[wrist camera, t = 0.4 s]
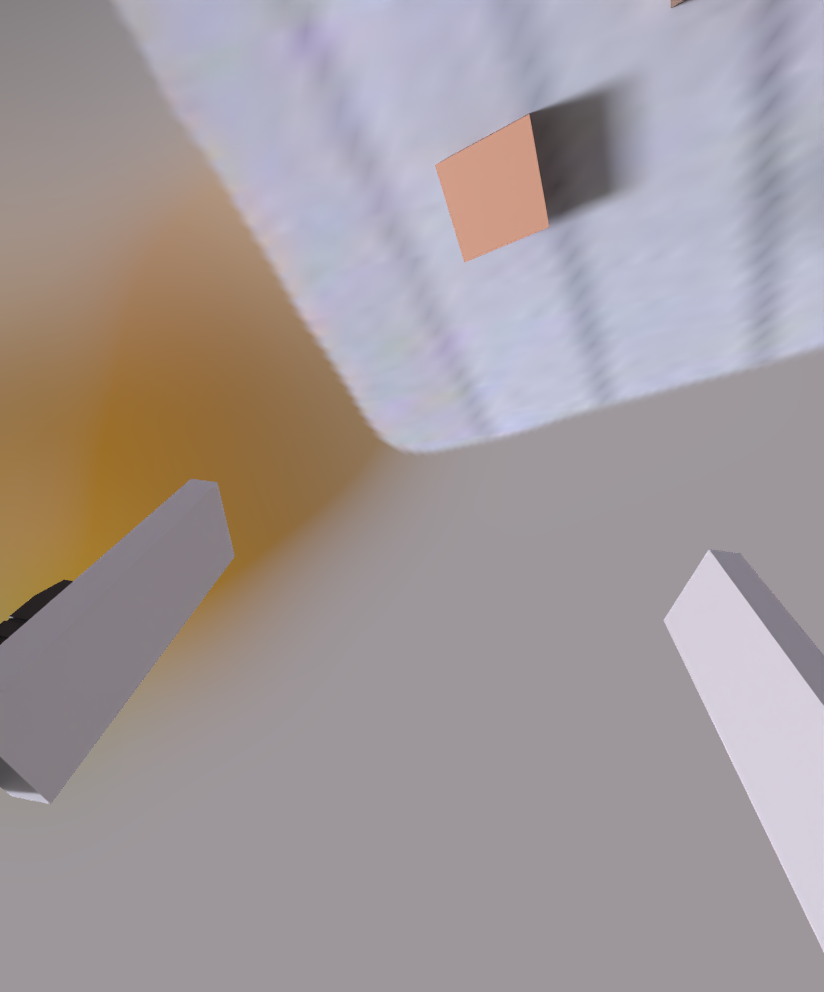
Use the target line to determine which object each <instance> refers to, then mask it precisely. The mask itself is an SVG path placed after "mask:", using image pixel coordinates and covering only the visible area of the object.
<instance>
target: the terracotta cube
mask: <svg viewBox="0 0 824 992" xmlns="http://www.w3.org/2000/svg"><path fill="white" fill-rule="evenodd" d="M435 166H436V170H437V173H438V176H439V179H440V183H441V186H442V189H443V193H444V196H445V199H446V203H447V206H448V209H449V213H450V216H451V219H452V223H453V226H454V229H455V233H456V236H457V239H458V243H459V246H460V249H461V252H462V256H463V259H464V262H467V261H469V260H471V259H474V258H476V257H479V256H481V255H483V254H486V253H488V252H491V251H493V250H495V249H498V248H500V247H503V246H505V245H507V244H510V243H512V242H515V241H517V240H519V239H522V238H524V237H527V236H529V235H531V234H534V233H536V232H538V231H541V230H543V229H546V228H548V227H549V222H548V215H547V209H546V203H545V198H544V192H543V186H542V181H541V175H540V169H539V164H538V158H537V152H536V147H535V141H534V135H533V130H532V124H531V118H530V113H529V114H527V115H525V116H524V117H522V118H520V119H518V120H516V121H514V122H513V123H511V124H509V125H507V126H505V127H503V128H502V129H500V130H498V131H496V132H494V133H492V134H490V135H489V136H487V137H485V138H483V139H481V140H479V141H478V142H476V143H474V144H472V145H470V146H468V147H466V148H465V149H463V150H461V151H459V152H457V153H455V154H454V155H452V156H450V157H448V158H446V159H445V160H443V161H441V162H440V163H438V164H436V165H435Z"/></svg>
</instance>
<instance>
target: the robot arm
mask: <svg viewBox="0 0 824 992" xmlns="http://www.w3.org/2000/svg"><path fill="white" fill-rule="evenodd" d="M233 558H234V552H233V548H232V544H231V539H230V535H229V530H228V526H227V522H226V518H225V513H224V509H223V505H222V501H221V497H220V492H219V488H218V484H217V482H210V481H202V480H195V479H191V480H189V481H188V482H187V483H186V484H185V485H184V486H182V487H181V488H180V489H179V490H178V491H177V492H176V493H174V494H173V495H172V496H171V497H170V498H169V499H167V500H166V501H165V502H164V503H163V504H162V505H161V506H159V507H158V508H157V509H156V510H155V511H154V512H152V513H151V514H150V515H149V516H148V517H147V518H146V519H144V520H143V521H142V522H141V523H140V524H139V525H138V526H136V527H135V528H134V529H133V530H132V531H131V532H129V533H128V534H127V535H126V536H125V537H124V538H123V539H121V541H119V542H118V543H117V544H116V545H115V546H113V547H112V548H111V549H110V550H109V551H108V552H107V553H105V554H104V555H103V556H102V557H101V558H100V559H99V560H97V561H96V562H95V563H94V564H93V565H92V566H90V567H89V568H88V569H87V570H86V571H85V572H83V573H82V574H81V575H80V576H79V577H78V578H77V579H75V580H74V581H68V580H63V581H61V582H59V583H57V584H55V585H53V586H52V587H50V588H48V589H47V590H44V591H42V592H41V593H39V594H37V595H35V596H34V597H32V598H31V599H30V600H29V601H28V602H26V603H25V604H24V605H23V606H21V607H20V608H19V609H18V610H17V611H15V612H14V613H13V614H12V615H10V616H9V617H10V618H9V620H8V621H3V622H2V623H1V624H0V787H1V788H2V789H4V790H5V791H6V792H7V793H8V794H10V795H11V796H13V797H18V798H23V799H28V800H33V801H38V802H43V803H48V804H51V803H52V802H53V800H54V799H55V798H56V796H57V795H58V794H59V792H60V791H61V789H62V788H63V787H64V785H65V784H66V783H67V781H68V780H69V779H70V777H71V776H72V775H73V773H74V772H75V771H76V769H77V768H78V766H79V765H80V764H81V762H82V761H83V760H84V759H85V757H86V756H87V754H88V753H89V752H90V750H91V749H92V748H93V746H94V745H95V744H96V742H97V741H98V740H99V738H100V737H101V736H102V734H103V733H104V731H105V730H106V729H107V728H108V726H109V725H110V723H111V722H112V721H113V719H114V718H115V717H116V715H117V714H118V713H119V711H120V710H121V709H122V707H123V706H124V705H125V703H126V702H127V701H128V699H129V698H130V697H131V695H132V694H133V692H134V691H135V690H136V688H137V687H138V686H139V684H140V683H141V682H142V680H143V679H144V678H145V676H146V675H147V673H148V672H149V671H150V670H151V668H152V667H153V665H154V664H155V663H156V662H157V660H158V659H159V657H160V656H161V654H162V653H163V652H164V651H165V649H166V648H167V647H168V645H169V644H170V643H171V641H172V640H173V639H174V637H175V636H176V635H177V633H178V632H179V631H180V629H181V628H182V626H183V625H184V624H185V622H186V621H187V620H188V618H189V617H190V616H191V614H192V613H193V612H194V610H195V609H196V608H197V606H198V605H199V604H200V602H201V601H202V599H203V598H204V597H205V595H206V594H207V593H208V591H209V590H210V589H211V587H212V586H213V585H214V583H215V582H216V581H217V579H218V578H219V577H220V575H221V574H222V573H223V571H224V570H225V569H226V567H227V566H228V565H229V563H230V562H231V560H232V559H233ZM664 622H665V624H666V626H667V628H668V630H669V632H670V634H671V636H672V639H673V641H674V643H675V645H676V647H677V649H678V651H679V653H680V655H681V657H682V659H683V661H684V664H685V665H686V668H687V670H688V672H689V674H690V676H691V678H692V680H693V682H694V684H695V686H696V688H697V690H698V693H699V694H700V697H701V699H702V701H703V703H704V705H705V707H706V709H707V711H708V713H709V715H710V717H711V720H712V721H713V723H714V726H715V728H716V730H717V732H718V734H719V736H720V738H721V740H722V742H723V744H724V746H725V749H726V751H727V753H728V754H729V757H730V759H731V761H732V763H733V765H734V767H735V769H736V771H737V773H738V775H739V778H740V780H741V782H742V783H743V786H744V788H745V790H746V792H747V794H748V796H749V798H750V800H751V802H752V804H753V807H754V808H755V811H756V813H757V815H758V817H759V819H760V821H761V823H762V825H763V827H764V829H765V831H766V834H767V836H768V837H769V840H770V842H771V844H772V846H773V848H774V850H775V852H776V854H777V856H778V858H779V860H780V863H781V864H782V867H783V869H784V871H785V873H786V875H787V877H788V879H789V881H790V883H791V885H792V887H793V889H794V892H795V893H796V896H797V898H798V900H799V902H800V904H801V906H802V908H803V910H804V912H805V914H806V916H807V919H808V920H809V923H810V925H811V927H812V929H813V931H814V933H815V935H816V937H817V939H818V941H819V943H820V945H821V948H822V950H823V952H824V655H823V654H822V652H821V651H820V650H819V649H818V648H817V646H816V645H815V644H814V643H813V641H812V640H811V639H810V638H809V637H808V635H807V634H806V633H805V632H804V630H803V629H802V628H801V627H800V626H799V625H798V623H797V622H796V621H795V620H794V618H793V617H792V616H791V615H790V613H789V612H788V611H787V610H786V609H785V607H784V606H783V605H782V604H781V603H780V601H779V600H778V599H777V598H776V597H775V595H774V594H773V593H772V591H771V590H770V589H769V588H768V587H767V585H766V584H765V583H764V582H763V580H762V579H761V578H760V577H759V576H758V574H757V573H756V572H755V571H754V570H753V569H752V567H751V566H750V565H749V564H748V562H747V561H746V560H745V559H744V558H743V556H742V555H741V554H740V553H733V552H725V551H718V550H711V549H709V550H708V552H707V553H706V555H705V556H704V558H703V559H702V561H701V563H700V564H699V566H698V567H697V569H696V571H695V572H694V574H693V575H692V577H691V578H690V580H689V581H688V583H687V584H686V586H685V588H684V589H683V591H682V592H681V594H680V596H679V597H678V599H677V600H676V602H675V603H674V605H673V607H672V608H671V609H670V611H669V613H668V614H667V616H666V617H665V619H664Z"/></svg>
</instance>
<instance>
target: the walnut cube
mask: <svg viewBox="0 0 824 992" xmlns="http://www.w3.org/2000/svg"><path fill="white" fill-rule="evenodd" d="M683 1H685V0H671V8H673V7H674V6H676V5H678V4H680V3H681V2H683Z"/></svg>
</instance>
